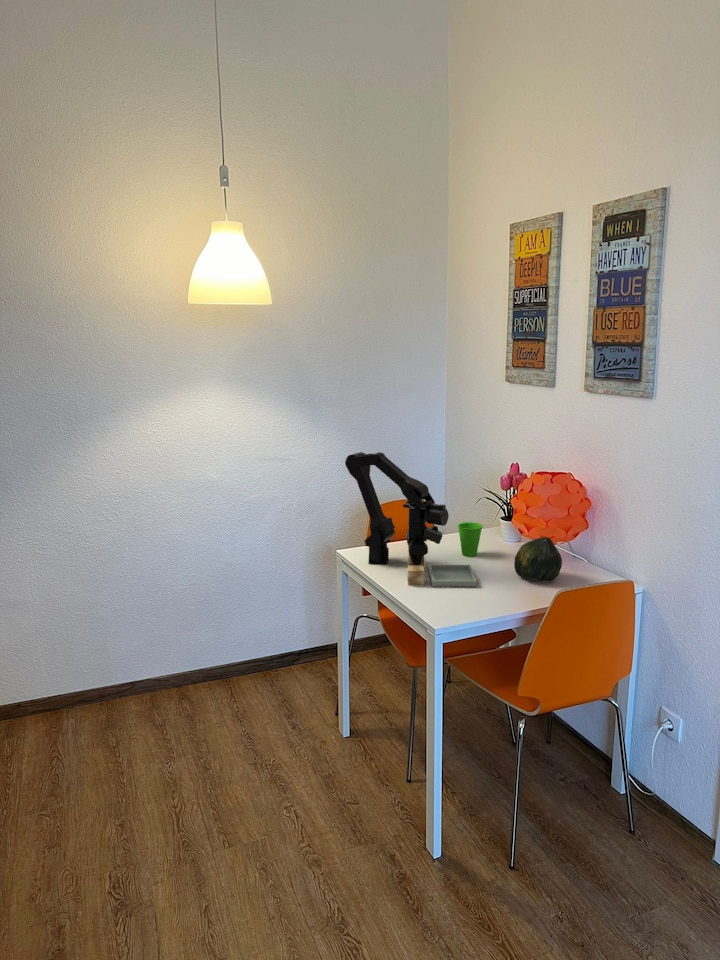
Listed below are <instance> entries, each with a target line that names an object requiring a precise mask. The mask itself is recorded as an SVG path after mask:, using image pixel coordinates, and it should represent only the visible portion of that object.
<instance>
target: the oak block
mask: <svg viewBox="0 0 720 960" xmlns="http://www.w3.org/2000/svg"><path fill="white" fill-rule="evenodd" d="M406 577H407V579H406V580H407V586H416V587H417V586H419V587H421V586H425V566H424V567H423V566H409V565H407V576H406Z"/></svg>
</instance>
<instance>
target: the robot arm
mask: <svg viewBox="0 0 720 960" xmlns="http://www.w3.org/2000/svg"><path fill="white" fill-rule="evenodd" d="M344 464H345V467H346V469H347V471H348V473H349V475H351V476H352V478H354V479H355V481H356V483H357V486H358V488H359V491H360V494H361V496H362V501H363V502H364V504H365V508H366V511H367V513H368V516H369V519H370V520H369V532H370V535H368V537H367V538H365V540H364V543H365V546H366V547H368V564H369V565H377V564H378V565H387V564H388V561H389V559H390V557H389V556H390V555H389V553H390V552H389V550H390V549H389V547H388V544H389V543H390V542H391V539H392V538H393V537H394V535H395V533H396V531H395V528H396V526H395V525H394V522H393V518H392V517H391V516H390V517H387V516H386V515H385V514H384V511H383V509H382V506H381V503H380V501H379V500H380V499H379V498H378V495H377V493H376V490H375V487H374V484H373V482H372V479H371V466H374V467H376V468H377V469H378V470H379V471H380V472H382V473H383V475H385V476H387V478H389V480H391V481H392V482H393V483H394V484H395V485H397V487H399V488H400V491H401V493H402V495H403V496H404V497H405V498H406V499H407V501H406V502H405V503H404V504H403V505H402V507H403V508H406V509H408V522H407V525H408V527H407V528H408V530H407V532H406V535H405V538H406V543H407V547H408V550H407V551H408V556H409V555H410V558H411V560H412V563H413V565H414V566H420V564H421V560H422V557H423V556H424V557H425V556H426V555H427V554H428V553H429V551H428V550H429V547H428V544H427V543H426V542H427V541H430V542H432V543H435V544H437V545H440V544H441V541H442V538H443V537H444V536H443V532H441V531H440V530H439V527H438V526H442V527H445V526H446V525H447V523H448V520H449V517H450V516H449V514H450V513H449V512H448V509H447V508H446V507H447V505H446V504H437V503H436V501H435V500H434V498H433V497H432V495H431V494H430V491H429V486H427V485H426V484H425V483H423V482H422V481H420V480H418V479H415V478H414V477H411V476H409V475H408V474H407V473H406V472H404V471H403V470H402V469H401V468H400V467H398V465H396V464H395V463H394V462H392V461H391V460H390V459H389V458H388V457H387V456H386V455H385V453H384V452H380V451H379V452H374V453H364V452H362V451H360V452H355V453H352V454H349V455H347V456H346V458H345V461H344ZM427 524H431V525H432V526H431V527H428V526H427Z"/></svg>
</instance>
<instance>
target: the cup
mask: <svg viewBox="0 0 720 960" xmlns="http://www.w3.org/2000/svg"><path fill="white" fill-rule="evenodd" d="M457 528H458V533H459V541H460V549H461V554H462V556H463V557H466V558H473V557H476V556H477V554H478V551H479V550H478V548H479V544H480V539H481V535H482V530H483V528H484V526H483V524H481V523H478V522H473V521H468V522H467V521H466V522H460V523H458V524H457Z"/></svg>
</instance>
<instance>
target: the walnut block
mask: <svg viewBox="0 0 720 960" xmlns="http://www.w3.org/2000/svg"><path fill="white" fill-rule="evenodd" d="M408 566H414V565H413V563H412V560H411V558H410V555H409V554H408ZM420 566H423V567H424V568H425V555H424V556H423V557H422V560H421V564H420Z"/></svg>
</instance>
